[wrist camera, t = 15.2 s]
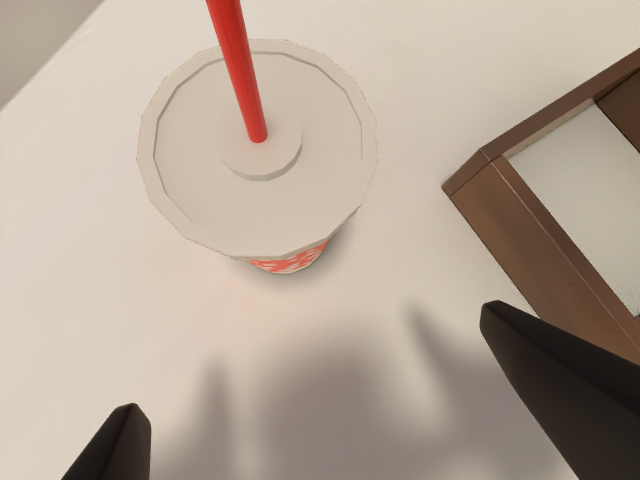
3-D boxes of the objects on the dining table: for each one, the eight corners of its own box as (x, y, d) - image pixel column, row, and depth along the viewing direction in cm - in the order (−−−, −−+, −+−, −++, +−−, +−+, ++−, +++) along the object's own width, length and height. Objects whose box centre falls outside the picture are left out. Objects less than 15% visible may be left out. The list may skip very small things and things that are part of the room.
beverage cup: (268, 151, 19) (161, -321, 5) (366, 213, 18) (554, -125, 4) (196, 244, 17) (-221, -40, 4) (299, 314, 17) (261, 292, 3)
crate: (743, 251, 18) (868, 231, 14) (585, 378, 17) (677, 397, 12) (595, 88, 20) (669, 29, 16) (440, 186, 18) (479, 148, 14)
